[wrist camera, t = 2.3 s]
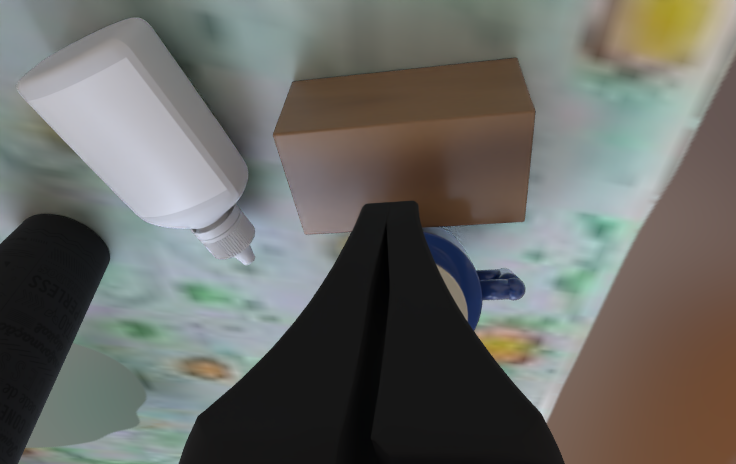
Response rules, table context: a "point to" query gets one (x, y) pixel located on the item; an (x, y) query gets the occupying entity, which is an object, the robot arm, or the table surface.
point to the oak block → (410, 144)
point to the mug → (469, 276)
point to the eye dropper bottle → (145, 133)
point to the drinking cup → (41, 315)
